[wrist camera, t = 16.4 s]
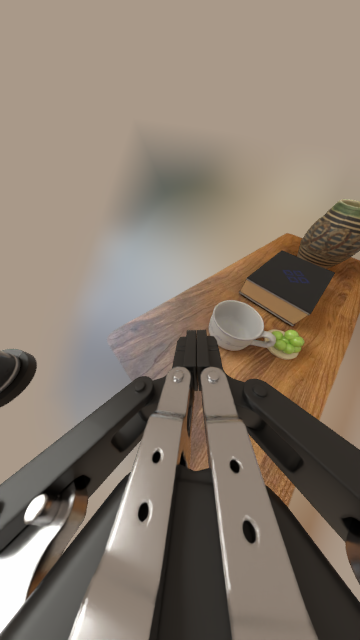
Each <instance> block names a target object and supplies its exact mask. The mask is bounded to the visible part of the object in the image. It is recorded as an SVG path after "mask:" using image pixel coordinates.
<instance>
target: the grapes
mask: <svg viewBox="0 0 360 640" xmlns="http://www.w3.org/2000/svg"><path fill="white" fill-rule="evenodd" d="M268 332H270V333H272V334H273V335H274V336H275V337H276V343H275V344H274V345H273V346H272V347H267V349H268V350H269V351H270V352H271V353H272V354H273V355H275V356H277V357H278V358H281V359H285V360H290V359H293V358H295V357H296V356H297V355H298V353H299V352H300V351H301V346H303V345H304V339H303V338H302V337H300V336H299V334H298V332H296V331H295V330H287V331H286V332H283V331H281V330H270V331H268ZM264 341H270V340H269V339H267V338H264Z"/></svg>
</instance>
